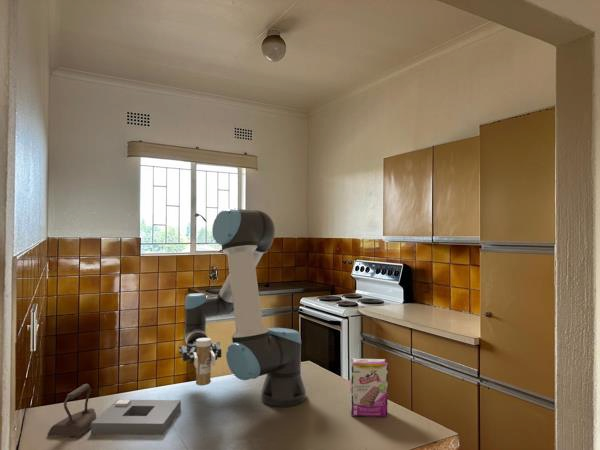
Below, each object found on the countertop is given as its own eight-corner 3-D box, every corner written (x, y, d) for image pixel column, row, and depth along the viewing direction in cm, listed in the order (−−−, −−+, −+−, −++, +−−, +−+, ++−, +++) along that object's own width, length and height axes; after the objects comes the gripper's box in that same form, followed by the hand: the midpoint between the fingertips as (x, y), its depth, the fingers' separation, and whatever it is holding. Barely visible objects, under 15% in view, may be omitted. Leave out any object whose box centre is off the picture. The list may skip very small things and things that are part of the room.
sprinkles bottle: (205, 386, 120) (206, 341, 121) (192, 385, 122) (193, 340, 122) (213, 381, 124) (214, 337, 125) (200, 380, 126) (201, 336, 126)
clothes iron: (80, 438, 109) (81, 397, 109) (46, 437, 110) (47, 396, 110) (108, 416, 123) (109, 379, 123) (78, 414, 123) (79, 378, 124)
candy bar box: (351, 417, 122) (351, 362, 122) (349, 410, 127) (349, 357, 127) (388, 417, 122) (388, 363, 122) (385, 410, 127) (385, 358, 127)
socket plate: (180, 409, 127) (180, 397, 127) (163, 434, 111) (163, 420, 111) (117, 409, 127) (117, 397, 127) (90, 434, 111) (91, 420, 111)
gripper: (222, 351, 143) (234, 371, 121) (171, 356, 137) (174, 378, 115) (222, 330, 143) (234, 346, 121) (171, 334, 137) (174, 351, 115)
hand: (205, 361), depth 118 cm, fingers closed on sprinkles bottle, 4 cm apart
